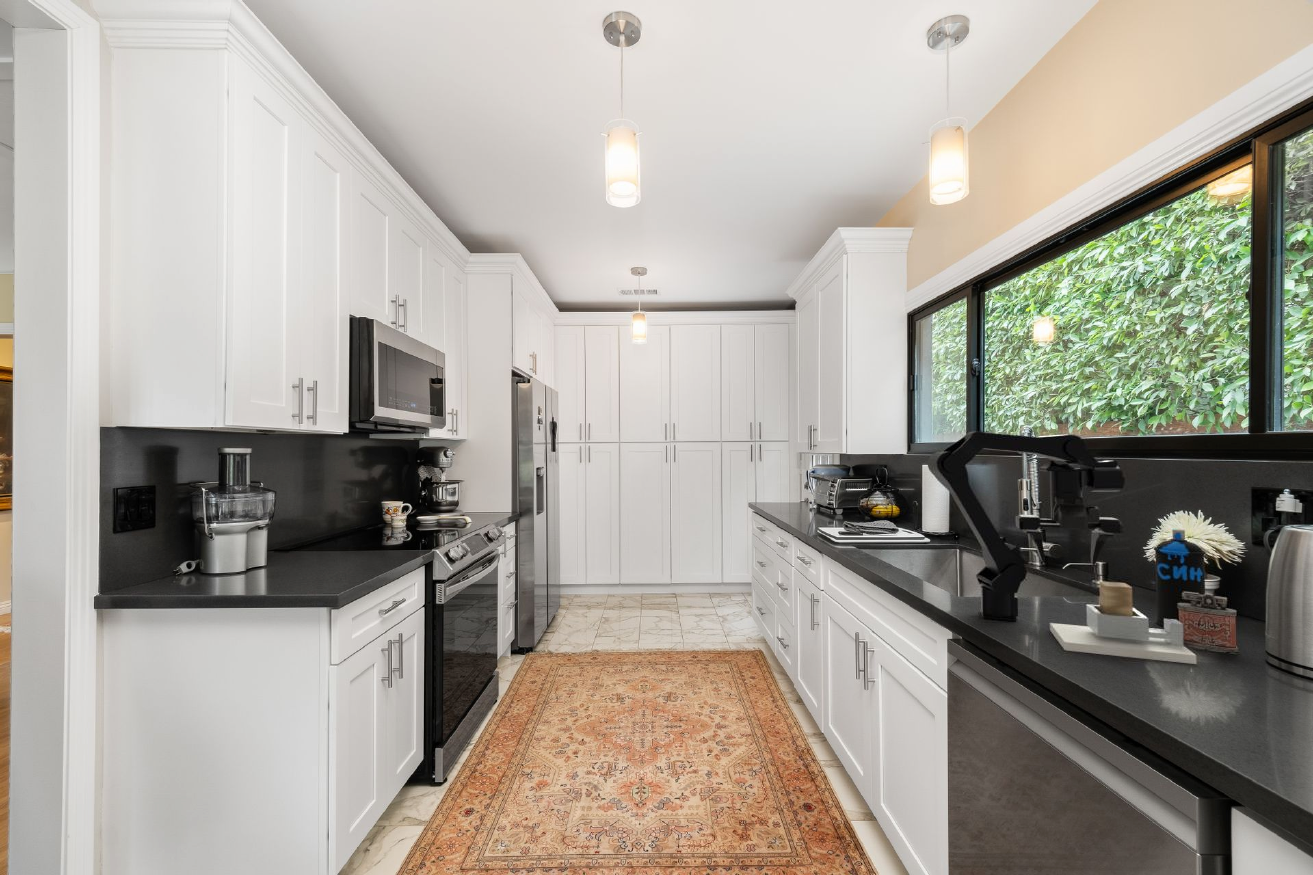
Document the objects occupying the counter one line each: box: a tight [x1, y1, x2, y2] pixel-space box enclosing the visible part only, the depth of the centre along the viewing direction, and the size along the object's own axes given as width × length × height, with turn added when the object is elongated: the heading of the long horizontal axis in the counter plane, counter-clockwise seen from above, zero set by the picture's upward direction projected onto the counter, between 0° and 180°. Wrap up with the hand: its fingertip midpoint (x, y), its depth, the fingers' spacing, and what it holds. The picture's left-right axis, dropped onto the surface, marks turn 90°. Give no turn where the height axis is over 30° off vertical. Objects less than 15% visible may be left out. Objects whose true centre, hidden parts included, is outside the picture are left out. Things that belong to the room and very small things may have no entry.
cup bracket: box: [1086, 604, 1184, 646], centre depth 111 cm, size 13×8×5 cm, turn 67°
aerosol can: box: [1153, 528, 1207, 627], centre depth 124 cm, size 8×8×20 cm
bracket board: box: [1049, 622, 1197, 665], centre depth 112 cm, size 19×13×2 cm
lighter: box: [1178, 592, 1239, 654], centre depth 111 cm, size 8×3×10 cm, turn 47°
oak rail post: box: [1098, 581, 1134, 616], centre depth 112 cm, size 4×4×8 cm
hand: (1067, 563), depth 131 cm, fingers open, 9 cm apart
